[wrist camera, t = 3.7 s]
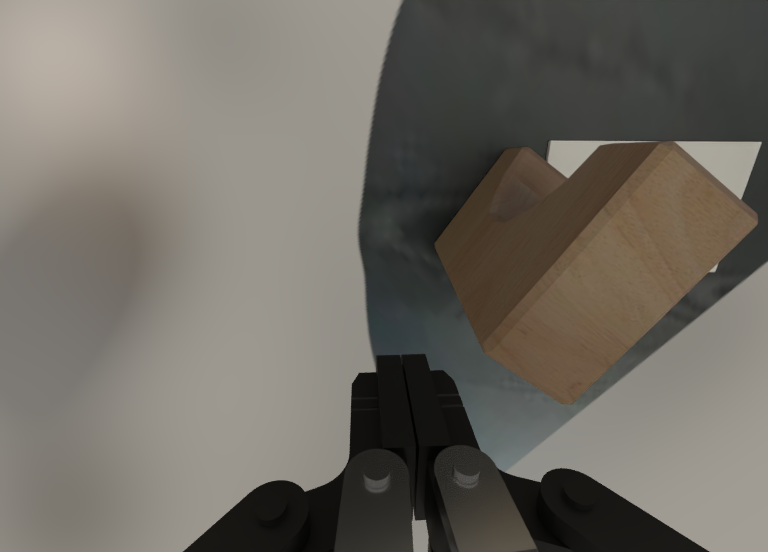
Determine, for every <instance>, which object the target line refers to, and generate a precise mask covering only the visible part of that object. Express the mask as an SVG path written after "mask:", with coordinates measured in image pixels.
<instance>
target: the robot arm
mask: <svg viewBox="0 0 768 552" xmlns="http://www.w3.org/2000/svg"><path fill="white" fill-rule="evenodd" d="M350 427H351V428H350V454H349V460H348V463H347V465H346V467H345V468H344V470H343V471H342V473H341V474H340V475H339V476H338V477H336V478H335V479H334V480H333V481H331V482H329V483H327V484H325V485H323V486H320V487H317V488H315V489H312V490H309V491H306V492H304V490H303V489H302V488H301V487H300V486H299V485H297V484H295V483H293V482H290V481H284V480H278V481H272V482H268V483H265V484H263V485H261V486H259V487H257V488H256V489H254V490H253V491H252V492H250V493H249V494H248V495H247V496H246V497H245V498H243V499H242V500H241V501H240V502H239V503H238V504H237V505H236V506H234V507H233V508H232V509H231V510H230V511H229V512H228V513H226V514H225V515H224V516H223V517H222V518H221V519H220V520H219V521H217V522H216V523H215V524H214V525H213V526H212V527H211V528H210V529H208V530H207V531H206V532H205V533H204V534H203V535H202V536H200V537H199V538H198V539H197V540H196V541H195V542H194V543H193V544H191V545H190V546H189V547H188V548H187V549H186V550H185V551H183V552H413V536H412V519H413V509H414V516H415V520H426V523H427V529H428V535H429V539H428V552H709V551H707V550H706V549H704V548H702V547H701V546H699V545H698V544H696V543H695V542H693V541H691V540H690V539H688V538H687V537H685V536H683V535H682V534H680V533H679V532H677V531H675V530H674V529H672V528H670V527H669V526H667V525H666V524H664V523H663V522H661V521H659V520H658V519H656V518H655V517H653V516H651V515H650V514H648V513H646V512H645V511H643V510H642V509H640V508H639V507H637V506H635V505H634V504H632V503H630V502H629V501H627V500H626V499H624V498H623V497H621V496H619V495H618V494H616V493H615V492H613V491H611V490H610V489H608V488H607V487H605V486H603V485H602V484H600V483H598V482H597V481H595V480H594V479H592V478H591V477H589V476H587V475H585V474H583V473H581V472H578V471H575V470H571V469H562V468H560V469H554V470H551V471H549V472H547V473H546V474H545V475H544V476H543V478H542V480H541V482H537V481H533V480H529V479H525V478H520V477H516V476H513V475H510V474H507V473H505V472H503V471H501V470H499V469H498V468H497V467H496V465H495V463H494V462H493V461H492V460H491V458H490V457H489V456H487V455H486V454H485V453H483V452H482V451H481V450H480V448H479V446H478V443H477V440H476V438H475V435H474V432H473V430H472V427H471V424H470V422H469V419H468V416H467V414H466V411H465V408H464V407H463V403H462V401H461V398H460V396H459V393H458V390H457V387H456V385H455V382H454V380H453V379H452V378H451V377H450V376H449V375H448V374H447V373H446V372H444V371H443V370H434V371H430V368H429V365H428V362H427V358H426V355H425V354H410V355H401V358H400V355H377V356H376V372H372V373H359V374H358V376H357V377H356V379H355V380H354V382H353V383H352V396H351V426H350Z"/></svg>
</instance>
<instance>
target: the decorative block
mask: <svg viewBox="0 0 768 552" xmlns="http://www.w3.org/2000/svg"><path fill="white" fill-rule="evenodd" d="M757 224H758V217H757V213H755V212H754V211H753V210H752V209H751V208H750V207H749V206H747V205H746V204H745V203H744V202H743V201H742V200H741V199H739V198H738V197H737V196H736V195H735V194H734V193H733V192H731V191H730V190H729V189H728V188H727V187H726V186H725V185H723V184H722V183H721V182H720V181H719V180H718V179H717V178H715V177H714V176H713V175H712V174H711V173H710V172H709V171H708V170H706V169H705V168H704V167H703V166H702V165H701V164H700V163H698V162H697V161H696V160H695V159H694V158H693V157H692V156H690V155H689V154H688V153H687V152H686V151H685V150H684V149H682V148H681V147H680V146H679V145H678V144H677V143H676V142H674V141H657V142H634V143H611V144H606V145H600V146H599V147H598V148H597V149H596V150H595V151H594V152H593V153H592V154H591V155H590V156H589V157H588V158H587V159H586V160H585V161H584V162H583V163H582V164H581V165H580V167H579V168H578V169H577V170H576V171H575V172H574V173H573V174H572V175H571V176H570V177H569V178H567V177H565V176H564V175H563V174H562V173H560V172H559V171H558V170H557V169H555V168H554V167H553V166H552V165H550V164H549V163H548V162H547V161H545V160H544V159H543V158H542V157H540V156H539V155H538V154H537V153H535V152H534V151H533V150H532V149H530V148H529V147H517V148H508V149H505V151H504V152H503V153H502V155H501V156H500V157H499V159H498V160H497V161H496V163H495V164H494V165H493V167H492V168H491V169H490V171H489V172H488V173H487V174H486V176H485V177H484V178H483V180H482V181H481V182H480V184H479V185H478V186H477V188H476V189H475V190H474V192H473V193H472V194H471V196H470V197H469V198H468V200H467V201H466V202H465V204H464V205H463V206H462V208H461V209H460V210H459V211H458V213H457V214H456V215H455V217H454V218H453V219H452V221H451V222H450V223H449V225H448V226H447V227H446V229H445V230H444V231H443V233H442V234H441V235H440V237H439V238H438V239H437V241H436V242H435V243H434V244H435V249H436V251H437V253H438V255H439V258H440V260H441V262H442V264H443V266H444V268H445V270H446V273H447V275H448V277H449V279H450V281H451V283H452V285H453V288H454V290H455V292H456V294H457V296H458V298H459V300H460V302H461V304H462V306H463V309H464V311H465V313H466V315H467V317H468V319H469V322H470V324H471V326H472V328H473V330H474V332H475V334H476V337H477V339H478V341H479V343H480V345H481V347H482V350H483V352H484V353H485V354H486V355H488V356H489V357H491V358H492V359H494V360H495V361H497V362H498V363H500V364H501V365H503V366H504V367H506V368H508V369H509V370H511V371H512V372H514V373H515V374H517V375H518V376H520V377H521V378H523V379H524V380H526V381H527V382H529V383H530V384H532V385H533V386H535V387H537V388H538V389H540V390H541V391H543V392H544V393H546V394H547V395H549V396H550V397H552V398H553V399H555V400H556V401H558V402H559V403H561V404H572V403H574V402H575V401H576V400H577V399H578V398H579V397H580V396H581V395H582V394H583V393H584V392H585V391H586V390H587V389H588V388H589V387H590V386H591V385H592V384H593V383H594V382H596V381H597V380H598V379H599V378H600V377H601V376H602V375H603V374H604V373H605V372H606V371H607V370H608V369H609V368H610V367H611V366H612V365H613V364H614V363H615V362H616V361H617V360H618V359H619V358H621V357H622V356H623V355H624V354H625V353H626V352H627V351H628V350H629V349H630V348H631V347H632V346H633V345H634V344H635V343H636V342H637V341H638V340H639V339H640V338H641V337H642V336H643V335H644V334H646V333H647V332H648V331H649V330H650V329H651V328H652V327H653V326H654V325H655V324H656V323H657V322H658V321H659V320H660V319H661V318H662V317H663V316H664V315H665V314H666V313H667V312H668V311H669V310H670V309H671V308H672V307H673V306H674V305H676V304H677V303H678V302H679V301H680V300H681V299H682V298H683V297H684V296H685V295H686V294H687V293H688V292H689V291H690V290H691V289H692V288H693V287H694V286H695V285H696V284H697V283H698V282H699V281H700V280H701V279H702V278H703V277H704V276H705V275H706V274H707V273H708V272H709V271H710V270H711V269H712V268H713V267H715V266H716V265H717V264H718V263H719V262H720V261H721V260H722V259H723V258H724V257H725V256H726V255H727V254H728V253H729V252H730V251H731V250H732V249H733V248H734V247H735V246H736V245H737V244H738V243H739V242H740V241H741V240H742V239H743V238H744V237H745V236H746V235H747V234H748V233H749V232H750V231H751V230H752V229H753V228H755V227H756V225H757Z"/></svg>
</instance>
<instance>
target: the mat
mask: <svg viewBox="0 0 768 552" xmlns="http://www.w3.org/2000/svg"><path fill="white" fill-rule="evenodd" d="M634 142H657V141H549V142H548V148H547V155H546V161H547V162H548V163H549V164H550V165H552V166H553V167H554V168H555V169H557V170H558V171H559V172H560V173H562V174H563V175H564V176H565V177H567V178H569V177H570V176H571V175H572V174H573V173H574V172H575V171H576V170H577V169H578V168H579V167H580V165H581V164H582V163H583V162H584V161H585V160H586V159H587V158H588V157H589V156H590V155H591V154H592V153H593V152H594V151H595V150H596V149H597V148H598V147H599V146H600V145H606V144H611V143H634ZM674 142H676V143H677V144H678V145H679V146H680V147H681V148H682V149H684V150H685V151H686V152H687V153H688V154H689V155H690V156H692V157H693V158H694V159H695V160H696V161H697V162H698V163H700V164H701V165H702V166H703V167H704V168H705V169H706V170H708V171H709V172H710V173H711V174H712V175H713V176H714V177H715V178H717V179H718V180H719V181H720V182H721V183H722V184H723V185H725V186H726V187H727V188H728V189H729V190H730V191H731V192H733V193H734V194H735V195H736V196H737V197H738V198H739V199H742V196H743V193H744V190H745V188H746V185H747V182H748V179H749V177H750V174H751V171H752V168H753V165H754V163H755V160H756V157H757V154H758V151H759V149H760V146H761V143H762V142H688V141H674ZM717 266H718V264H717V265H716V266H715V267H713V268H712V269H711V270H710V271H709V272H715V271H716V268H717Z"/></svg>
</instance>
